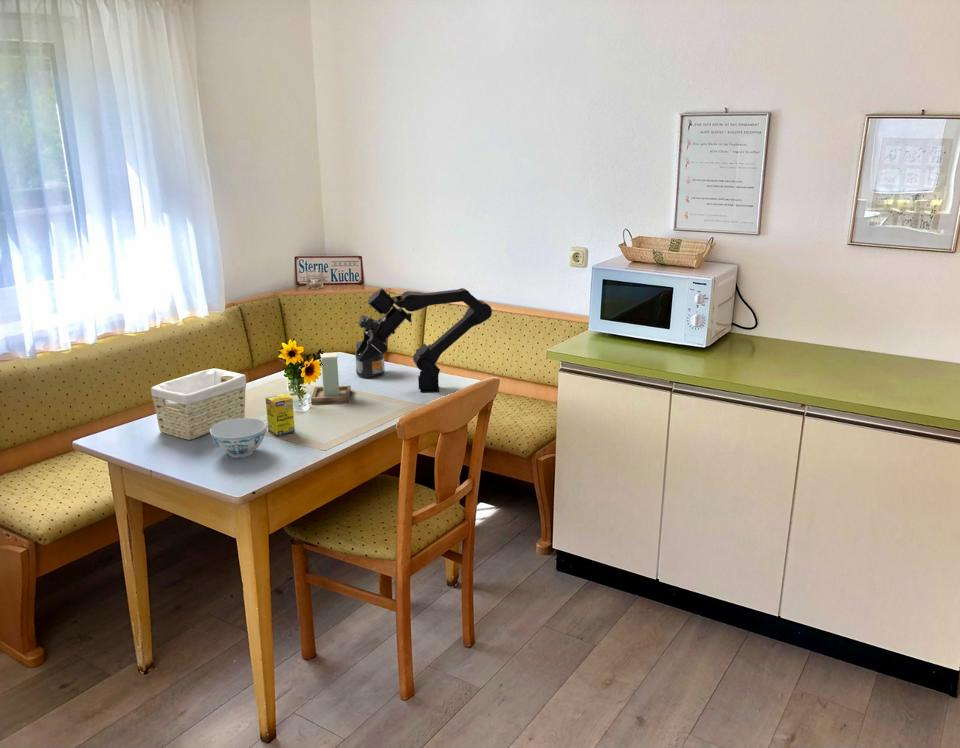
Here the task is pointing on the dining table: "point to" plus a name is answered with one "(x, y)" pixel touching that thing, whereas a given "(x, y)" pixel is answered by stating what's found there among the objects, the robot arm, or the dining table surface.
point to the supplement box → (280, 414)
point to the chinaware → (238, 435)
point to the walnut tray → (342, 398)
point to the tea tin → (330, 374)
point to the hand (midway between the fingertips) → (358, 357)
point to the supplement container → (369, 365)
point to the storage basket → (199, 402)
